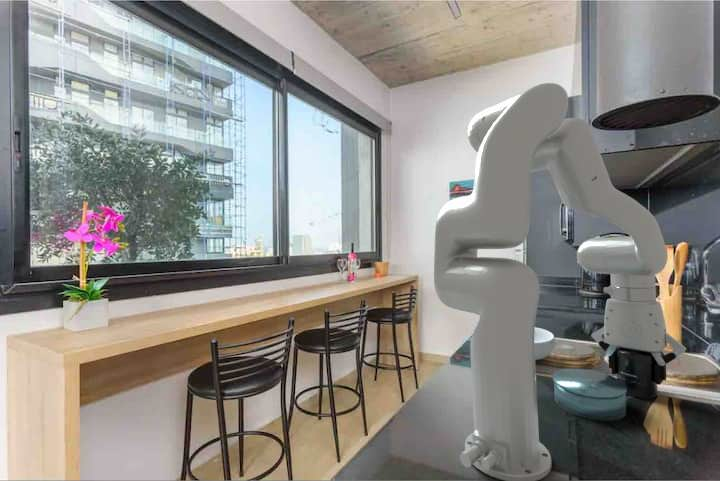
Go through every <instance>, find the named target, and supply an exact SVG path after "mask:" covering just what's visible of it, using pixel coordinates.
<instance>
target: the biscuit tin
mask: <svg viewBox="0 0 720 481" xmlns="http://www.w3.org/2000/svg"><path fill="white" fill-rule="evenodd" d="M552 380H553V384H554V387H553V389H554V390H553V391H554V403H555V404H556V405H557V406H558V407H559V408H561V410H563V411H565V412H566V413H570V414H572V415H574V416H578V417H580V418H582V419H583V418H584V419H588V420H594V421H603V422H604V421H605V422H609V421H617V420H618V421H619V420H621V419H623V418H625V416H626V415H627V400H626V399H627V398H626V397H627V394H626V393H627V387H626V385H625V384H624V383H623V382H622V381H621V380H619V379H617V377H615V376H612V375H610V374H607V373H603V372H601V371H597V370H592V369H591V370H590V369H583V368H563V369H558V370H557V371H554V373H553V374H552Z"/></svg>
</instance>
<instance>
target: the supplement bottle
mask: <svg viewBox="0 0 720 481" xmlns="http://www.w3.org/2000/svg"><path fill="white" fill-rule="evenodd" d="M655 364H656V359H655V358H654V356H653V355H652V353H651V352H644V351H639V350H633V349H627V348H622V347H618V348H617V350H616V370H617V374H616V378H617V379H619V380H621V381H622V382H623V383H624V384H625V385H626V387H627V393H626V396H631V397H634V398H640V399H652V398H655V397H656V396H657V395H658V384H656V383H655V368H654V366H655Z"/></svg>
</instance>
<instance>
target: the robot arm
mask: <svg viewBox="0 0 720 481" xmlns="http://www.w3.org/2000/svg"><path fill="white" fill-rule="evenodd" d="M568 96H569V95H568V93H567V91H566V89H565V88H564V87H563V86H561V85H560V84H557V83H554V82H553V83H552V82H547V83H546V82H545V83H540V84H537V85H534V86H533V87H531V88H528V89H527V90H525V91H522V92H520V93H517V94H516V95H513V96H510V97H509V98H507V99H505V100H503V101H501V102H498V103H497V104H494V105H492V106H490V107H488V108H485V109H483V110H482V111H479V112H478V113H477V114H475V115H474V116H473V117H472V119H471V120H470V122H469V124H468V128H467V138H468V141H469V143H470V145H471V147H472V149H473V150H474V151H475V152H477V153H476V154H477V155H476V158H475V164H474V174H473V175H474V176H473V187H472V192H471V194H469V195H461V196H458V197H455V198H452V199H450V200H448V201H447V202H446V203H445V204H444V205H443V206H442V208H440V211H439V213H438V216H437V217H436V222H435V231H434V255H433V256H434V257H433V258H434V260H433V284H434V289H435V292H436V296H437V298H438V299H439V301H440V302H441V303H442V304H444V305H445V306H447V307H448V308H450V309H454V310H457V311H462V312H466V313H470V314H471V313H472V314H474V315H478V316H479V320H478V323H477V324H476V327H474V330H473V332H472V334H471V338H470V344H469V357H470V372H471V386H472V387H471V390H472V391H471V392H472V413H473V432H471V433H470V434H468V436H467V438H466V439H465V441H464V451H462V452H461V453H460V454H459V460H460V463H461V465H462V466H464V467H465V468H470V467H471V466H474V467H475V468H477V469H478V470H479V471H481V472H482V473H484V474H486V475H488V476H489V477H492V478H494V479H495V478H496V479H499V480H501V481H539V480H542V479H543V478H546V477H547V475H549V473H550V472H551V469H552V456H551V454H550V451H549V449H547V448H546V447H545V445H544V444H543V443H541V442H540V439H539V438H540V435H539V434H540V432H539V414H538V413H539V412H538V393H537V392H538V389H537V370H536V367H537V365H536V361H535V344H534V333H535V327H536V319H537V318H536V317H537V312H538V306H539V299H540V281H539V278H538V276H537V274H536V273H535V271H534V269H532V268H531V267H530V266H529V265H528V264H526V263H525V262H523V261H520V260H516V259H513V258H507V257H491V256H490V257H485V256H484V257H483V256H480V257H479V256H478V251H479V250H505V249H507V250H508V249H512V248H517V247H519V246H521V245H522V244H523V243H524V242H525V241H526V240H527V238H528V235H529V230H530V222H531V193H532V192H531V190H532V189H531V187H532V186H531V185H532V173H535V172H539V171H544V170H545V171H546V170H547V171H548V172H549V174H550V176H551V179H552V180H553V182H554V186H555V187H556V190H557V192H558V195H559V198H560V199H561V202H562V203H563V205H564V206H565V207H566V208H568V209H569V210H572V211H574V212H577V213H581V214H583V215H585V216H586V215H587V216H590V217H593V218H597V219H601V220H603V221H606V222H609V223H612V224H613V225H615V226H617V227H619V228H620V229H621V230H623V231H624V232H625V233H627V234H628V236H611V237H610V236H609V237H608V236H607V237H605V236H603V237H593V238H589V239H587V240H585V241H583V242H582V243H581V244H580V245H579V247H578V249H577V251H576V259H577V263H578V264H579V266H580V267H581V268H582V269H584V270H586V271H588V272H589V273H593V274H601V275H610V285H609V286H607V287H606V286H604V287H603V293H604V294H608V295H609V296H610V298H607V299H606V303H605V308H604V309H605V310H604V317H603V318H604V319H603V320H604V321H603V326H602V327H601V328H599V329H598V330H596V331H594V332H593V333H591V335H590V336H591V337H592V339H593V340H594V341H595V342H596V343H598V346H599V347H600V348H601V349H602V350H604V352H605V354H606V355H607V356H608V369H611V374H612V375H617V370H616V350H617V348H618V347H622V348H627V349H633V350H639V351H644V352H651V353H652V355H653V356H654V358H655V359H656V364H655V366H654V368H655V383H656V384H657V386H658V385H659V386H660V385H661V384H662V383H663V381H667V364H669V363H670V362H672V361H674V360H675V359H677V358H678V357H680V356H681V355H682V354H684V353H685V352H686V350H687V347H685V346H684V345H683V344H682V343H680V341H678V340H676V339H675V338H674V337H673V336H671V335H670V334H669V333H668V332H667V327H666V326H667V325H666V320H665V315H664V311H663V307H662V304H661V302H660V301H657V291H656V289H657V288H656V275H658V274H660V273H661V272H662V271H664V270H665V267H666V265H667V261H668V251H667V247H666V243H665V239H664V237H663V234H662V231H661V229H660V226H659V223H658V221H657V220H656V218H655V216H654V215H653V214H652V213H651V212H650V211H649V210H648V209H647V208H646V207H644V206H643V204H640V203H639V202H638V201H637V200H636V199H634V198H633V197H631V196H629V195H627V194H626V193H624V192H622V191H620V190H618V189H617V188H615V186H614V184H612V181H611V179H610V175H609V172H608V170H607V167H606V164H605V162H604V160H603V157H602V154H601V152H600V149H599V146H598V144H597V141H596V138H595V136H594V134H593V133H594V132H593V131H592V128H591V126H590V125H589V123H588V122H587V121H586V120H584V119H582V118H579V117H568V118H566V116H567V114H568V113H567V112H568V109H569V97H568ZM668 345H669V346H671V347H672V349H673V350H671V351H669V352H668V353H665V352H664V350H665V348H667V346H668Z"/></svg>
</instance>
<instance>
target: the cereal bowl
mask: <svg viewBox="0 0 720 481" xmlns="http://www.w3.org/2000/svg"><path fill="white" fill-rule="evenodd" d="M555 341H556V340H555V336H554V333H552V332H551V331H550V330H547V329H544V328H540V327H536V326H535V333H534V344H535V362H536V361H537V360H538V361H539V360H542V359H544V358H546V357H548V356H549V355H551V353H552V352H553V350H554V349H555V343H556V342H555Z"/></svg>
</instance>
